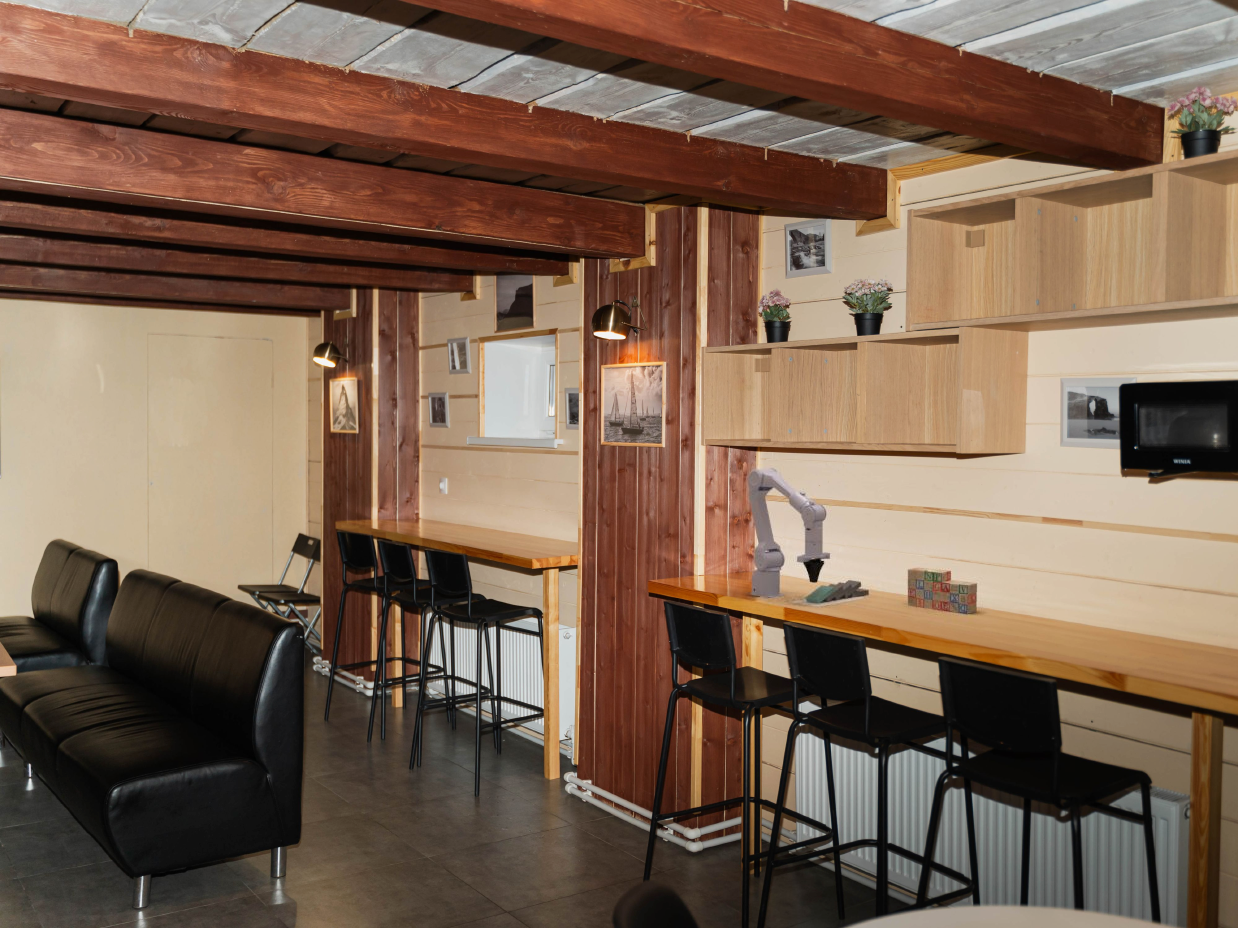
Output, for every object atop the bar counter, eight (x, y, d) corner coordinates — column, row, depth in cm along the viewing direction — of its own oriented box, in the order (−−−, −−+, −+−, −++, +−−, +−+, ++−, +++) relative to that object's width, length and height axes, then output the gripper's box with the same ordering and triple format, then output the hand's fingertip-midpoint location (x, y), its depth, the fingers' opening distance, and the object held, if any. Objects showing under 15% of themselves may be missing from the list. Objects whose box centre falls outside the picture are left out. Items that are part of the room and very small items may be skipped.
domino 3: (835, 596, 355) (851, 583, 361) (823, 594, 359) (839, 582, 364) (836, 600, 356) (852, 588, 361) (824, 598, 360) (840, 586, 365)
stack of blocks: (977, 611, 337) (977, 573, 336) (967, 614, 333) (967, 575, 332) (917, 603, 353) (917, 566, 352) (907, 605, 348) (907, 568, 348)
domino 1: (817, 599, 350) (833, 586, 355) (805, 597, 353) (821, 585, 359) (818, 603, 350) (834, 591, 355) (806, 601, 354) (822, 589, 359)
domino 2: (826, 597, 352) (842, 585, 358) (814, 595, 356) (830, 583, 361) (827, 602, 353) (843, 589, 358) (815, 600, 357) (831, 588, 362)
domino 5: (852, 592, 361) (868, 590, 367) (840, 591, 365) (856, 588, 371) (852, 597, 361) (868, 594, 367) (840, 595, 365) (856, 592, 371)
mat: (789, 603, 353) (789, 601, 353) (837, 594, 369) (837, 593, 369) (818, 608, 344) (818, 606, 344) (865, 599, 360) (865, 598, 360)
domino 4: (845, 593, 359) (860, 581, 364) (833, 591, 362) (848, 579, 368) (846, 597, 359) (861, 585, 364) (834, 596, 363) (849, 584, 368)
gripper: (808, 544, 343) (808, 585, 344) (837, 540, 353) (837, 581, 353) (792, 542, 349) (792, 583, 349) (820, 538, 358) (820, 578, 359)
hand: (813, 582), depth 352 cm, fingers closed
